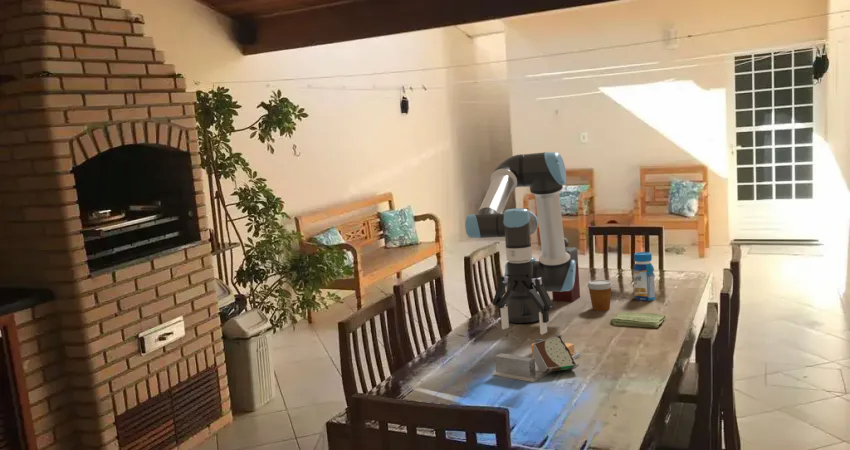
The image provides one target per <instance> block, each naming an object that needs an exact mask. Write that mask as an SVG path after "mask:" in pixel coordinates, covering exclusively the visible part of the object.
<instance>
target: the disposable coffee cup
mask: <svg viewBox="0 0 850 450" xmlns="http://www.w3.org/2000/svg"><path fill="white" fill-rule="evenodd" d="M587 283H588V284H587V288H588V293H589V297H590V303H591V309H592V310H593V311H597V312H603V311H604V312H605V311H609V310H610V308H611V298H612V297H611V296H612V287H613V284H612V282H611V280H607V279H595V280H590V281H588V282H587Z"/></svg>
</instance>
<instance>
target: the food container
mask: <svg viewBox="0 0 850 450" xmlns="http://www.w3.org/2000/svg"><path fill="white" fill-rule="evenodd" d="M562 336H563V334H560V333H559V334H557V333H556V334H554V336H552V337H549V338H546V339H543V341H540V342H537V343H535V342H534V345H533V355H534V358H535V362H536V365H537V367H538V368H539V370H541V371H542V372H549V371H552V372H555V371H561V370H562V371H567V372H571V371H573V370H575V369H576V368H578V367H579V365H580V364H579V363H576V362H575V359H574V360H573V358H572V356H571V354H570V351H569V349H568V348H567V346H566V345H565V344H564V343H563V342H564V341H563V339H562Z"/></svg>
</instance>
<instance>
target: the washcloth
mask: <svg viewBox="0 0 850 450" xmlns="http://www.w3.org/2000/svg"><path fill="white" fill-rule="evenodd" d="M665 319H666V315H664V314H662V313H655V312H634V311H629V312H627V311H622V312H618V313H617V314H616V315H615V316H614V317H612V318H611V319H610V323H609V324H611V325H613V326H619V327H620V326H621V327H637V328H640V327H641V328H653V329H658V327H659V325H661V324H662V323H663V321H664V320H665Z"/></svg>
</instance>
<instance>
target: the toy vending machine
mask: <svg viewBox="0 0 850 450" xmlns="http://www.w3.org/2000/svg"><path fill="white" fill-rule="evenodd" d="M564 242H565V251H566V252H567V253H568V254H569V255H570V258H571V260H575V263H576V272H575V281H574V286H573V289H572V290H570V291H562V292H560V291H551V295H552V302H564V303H565V302H567V303H574V302H575V301H577V300H579V299H580V298H581V292H580V291H581V290H580V286H581V285H580V273H579V272H580V271H579V254H578V248H577V247H568V246H569V244H570V242H569V239H568V238H567V237H564Z"/></svg>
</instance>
